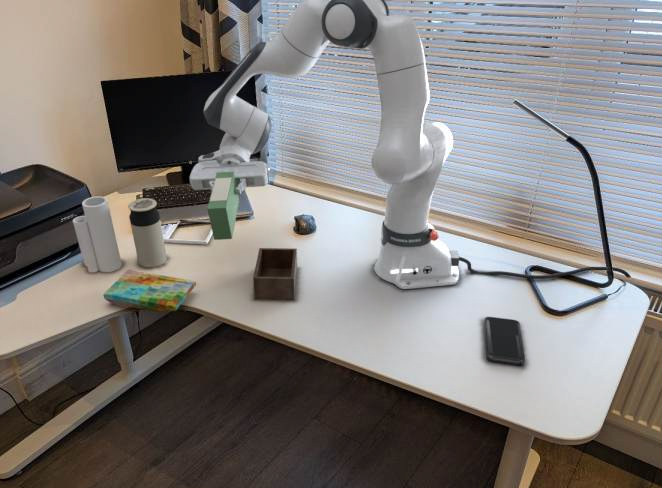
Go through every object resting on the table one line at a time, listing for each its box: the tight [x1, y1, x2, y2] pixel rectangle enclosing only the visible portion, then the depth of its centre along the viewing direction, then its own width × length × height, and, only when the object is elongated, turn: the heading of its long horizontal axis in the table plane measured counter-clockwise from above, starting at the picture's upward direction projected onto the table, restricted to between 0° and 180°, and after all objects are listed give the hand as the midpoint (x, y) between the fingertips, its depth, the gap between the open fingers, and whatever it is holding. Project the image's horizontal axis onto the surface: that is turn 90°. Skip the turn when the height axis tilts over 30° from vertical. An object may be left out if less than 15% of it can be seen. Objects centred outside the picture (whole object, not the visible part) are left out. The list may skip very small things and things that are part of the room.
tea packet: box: [207, 172, 240, 241], centre depth 136 cm, size 4×16×9 cm, turn 177°
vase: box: [72, 195, 123, 274], centre depth 152 cm, size 11×7×20 cm, turn 82°
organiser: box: [252, 247, 298, 301], centre depth 146 cm, size 10×15×7 cm
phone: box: [483, 316, 526, 366], centre depth 126 cm, size 8×1×15 cm
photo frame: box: [161, 219, 213, 246], centre depth 173 cm, size 15×1×18 cm
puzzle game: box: [102, 269, 197, 314], centre depth 142 cm, size 12×5×20 cm
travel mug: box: [127, 197, 168, 268], centre depth 154 cm, size 8×8×18 cm
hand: (225, 192), depth 139 cm, fingers closed on tea packet, 4 cm apart
